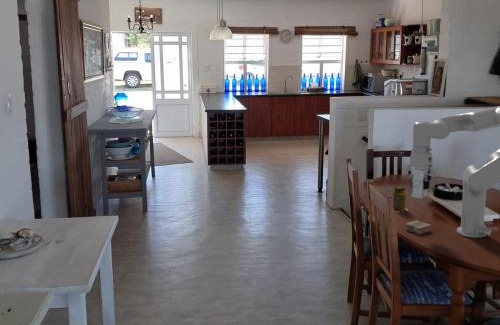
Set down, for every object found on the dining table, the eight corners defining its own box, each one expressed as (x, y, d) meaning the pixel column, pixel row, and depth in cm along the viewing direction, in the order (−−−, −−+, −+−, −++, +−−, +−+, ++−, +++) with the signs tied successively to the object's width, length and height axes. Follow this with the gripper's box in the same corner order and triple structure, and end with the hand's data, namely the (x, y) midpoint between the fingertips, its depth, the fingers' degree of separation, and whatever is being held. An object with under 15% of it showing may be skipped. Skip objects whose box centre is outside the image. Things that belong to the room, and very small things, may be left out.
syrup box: (416, 193, 238) (417, 163, 235) (428, 196, 234) (429, 165, 231) (410, 196, 234) (411, 166, 231) (422, 199, 230) (423, 167, 227)
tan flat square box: (430, 230, 237) (430, 224, 236) (419, 234, 232) (419, 228, 232) (416, 226, 243) (416, 220, 242) (405, 229, 239) (405, 223, 238)
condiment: (408, 209, 267) (409, 187, 264) (397, 213, 262) (398, 190, 260) (397, 206, 273) (398, 184, 270) (386, 209, 268) (387, 187, 265)
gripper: (443, 150, 224) (441, 190, 228) (411, 145, 238) (410, 182, 242) (432, 153, 220) (430, 193, 224) (400, 147, 234) (399, 184, 238)
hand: (419, 187), depth 233 cm, fingers closed on syrup box, 6 cm apart
